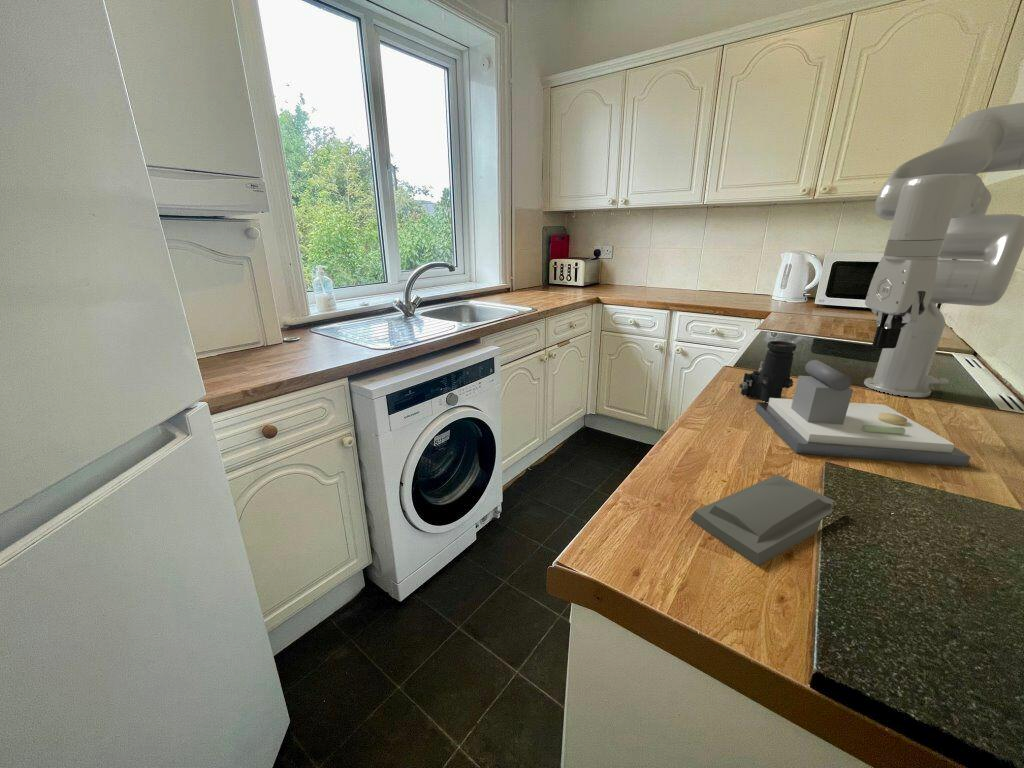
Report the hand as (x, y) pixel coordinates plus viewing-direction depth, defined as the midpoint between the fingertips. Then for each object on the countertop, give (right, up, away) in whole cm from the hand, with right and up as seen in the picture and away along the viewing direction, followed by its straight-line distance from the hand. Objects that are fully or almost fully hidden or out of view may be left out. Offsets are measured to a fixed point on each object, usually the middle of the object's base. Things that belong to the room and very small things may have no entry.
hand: (883, 346), depth 82 cm
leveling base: (-8, -17, -1) cm, 19 cm away
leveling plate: (-8, -15, -2) cm, 18 cm away
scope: (-13, -11, +17) cm, 24 cm away
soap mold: (-38, -26, -24) cm, 53 cm away
